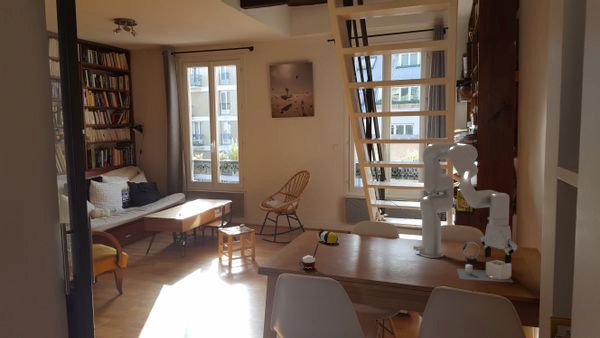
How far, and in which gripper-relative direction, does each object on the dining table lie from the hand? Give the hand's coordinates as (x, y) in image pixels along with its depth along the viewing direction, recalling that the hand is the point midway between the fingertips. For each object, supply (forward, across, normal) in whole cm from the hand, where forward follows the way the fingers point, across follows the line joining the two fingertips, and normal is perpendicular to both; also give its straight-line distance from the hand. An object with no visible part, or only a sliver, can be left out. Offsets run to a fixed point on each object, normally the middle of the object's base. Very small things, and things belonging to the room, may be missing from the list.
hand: (497, 259), depth 184 cm
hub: (+7, +1, 0) cm, 7 cm away
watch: (+9, -20, +8) cm, 23 cm away
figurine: (+11, -95, -27) cm, 99 cm away
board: (+9, -4, -4) cm, 10 cm away
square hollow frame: (+7, +1, 0) cm, 7 cm away
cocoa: (+10, -59, -61) cm, 85 cm away
